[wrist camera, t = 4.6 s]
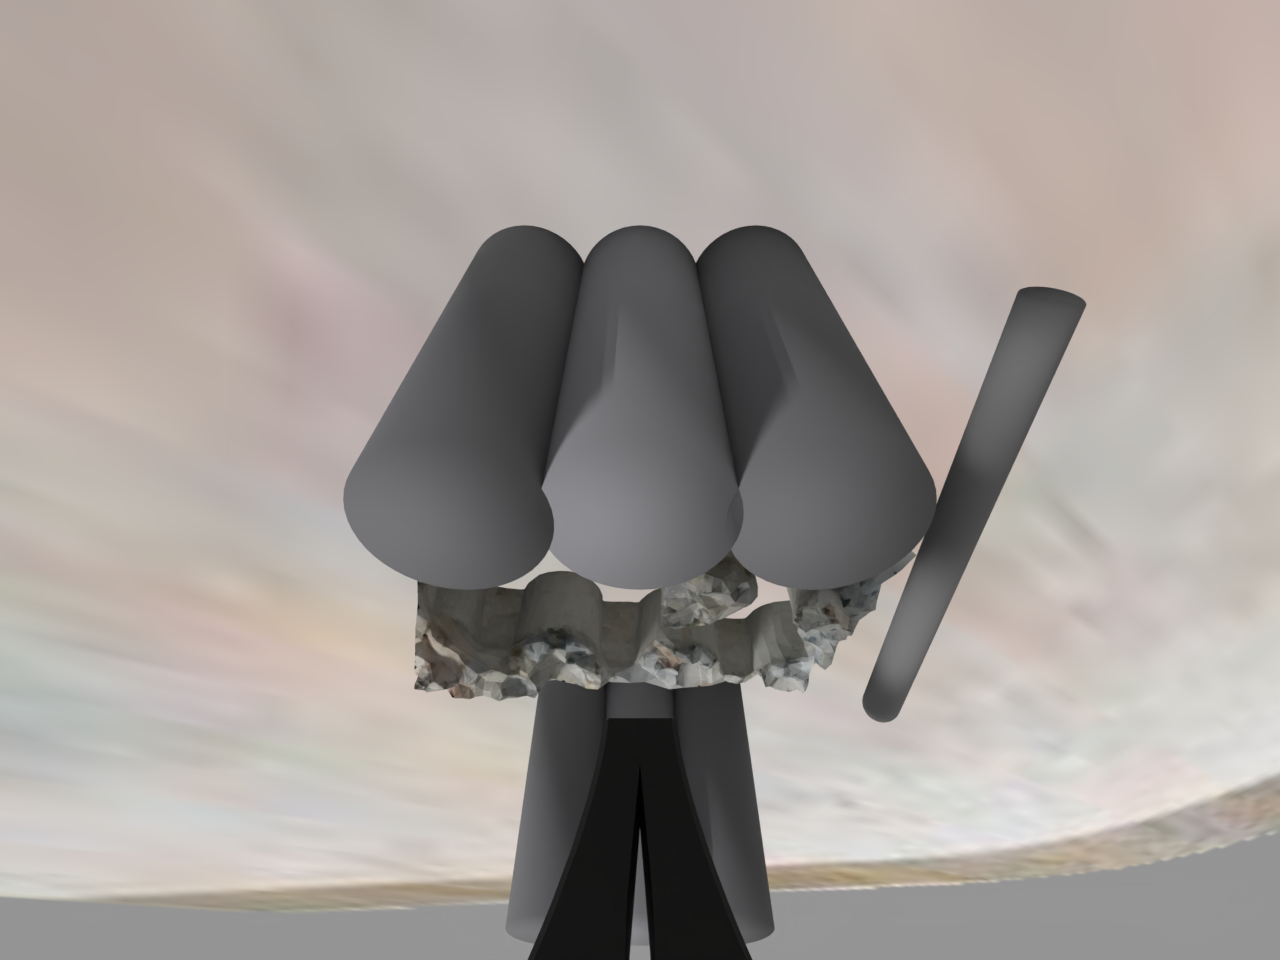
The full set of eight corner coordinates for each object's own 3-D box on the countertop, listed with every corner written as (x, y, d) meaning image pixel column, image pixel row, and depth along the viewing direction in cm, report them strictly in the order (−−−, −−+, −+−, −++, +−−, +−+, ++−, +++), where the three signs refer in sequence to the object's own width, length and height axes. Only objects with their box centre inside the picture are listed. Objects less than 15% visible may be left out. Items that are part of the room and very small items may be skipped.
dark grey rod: (1006, 286, 13) (1035, 311, 12) (1065, 286, 13) (1099, 311, 12) (854, 697, 22) (864, 729, 21) (889, 697, 22) (900, 729, 21)
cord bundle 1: (536, 666, 21) (499, 913, 15) (743, 666, 21) (780, 913, 15) (543, 707, 22) (511, 945, 17) (736, 707, 22) (768, 945, 17)
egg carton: (433, 571, 19) (388, 696, 15) (452, 343, 14) (394, 452, 11) (775, 633, 20) (799, 757, 17) (892, 445, 16) (954, 567, 12)
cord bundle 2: (461, 224, 12) (315, 435, 7) (818, 225, 12) (965, 435, 7) (481, 340, 14) (375, 589, 8) (799, 340, 14) (906, 590, 8)
